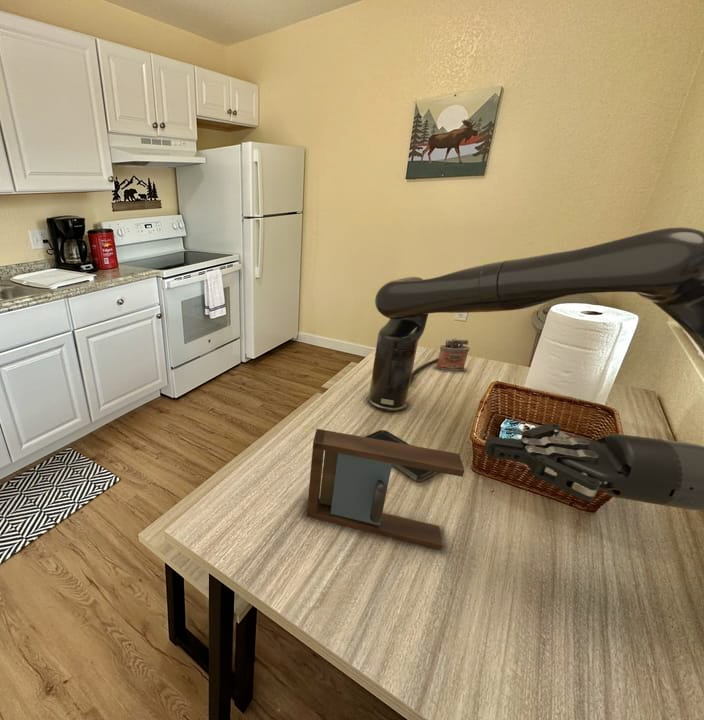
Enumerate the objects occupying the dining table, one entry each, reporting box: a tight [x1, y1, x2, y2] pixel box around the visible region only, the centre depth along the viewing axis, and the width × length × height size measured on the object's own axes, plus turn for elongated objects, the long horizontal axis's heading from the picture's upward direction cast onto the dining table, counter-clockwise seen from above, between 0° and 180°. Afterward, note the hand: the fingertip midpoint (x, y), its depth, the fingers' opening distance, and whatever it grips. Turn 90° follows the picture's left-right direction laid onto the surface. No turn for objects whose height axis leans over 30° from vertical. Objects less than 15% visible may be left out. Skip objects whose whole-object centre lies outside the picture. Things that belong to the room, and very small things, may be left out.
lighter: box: [435, 338, 470, 373], centre depth 118 cm, size 8×3×10 cm, turn 80°
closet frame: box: [306, 428, 466, 551], centre depth 63 cm, size 4×21×16 cm, turn 70°
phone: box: [365, 429, 439, 483], centre depth 82 cm, size 8×1×15 cm
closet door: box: [331, 453, 393, 526], centre depth 61 cm, size 4×8×13 cm, turn 70°
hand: (486, 446), depth 51 cm, fingers closed
